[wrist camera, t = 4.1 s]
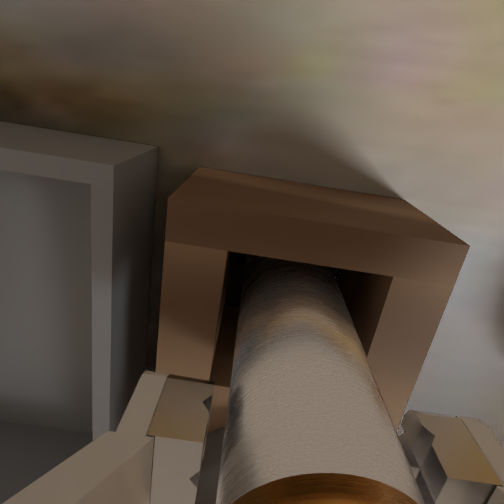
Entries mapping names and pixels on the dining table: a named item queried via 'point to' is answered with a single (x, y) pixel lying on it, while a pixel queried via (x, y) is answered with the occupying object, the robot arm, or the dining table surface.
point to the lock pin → (305, 399)
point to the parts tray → (69, 291)
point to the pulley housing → (306, 251)
